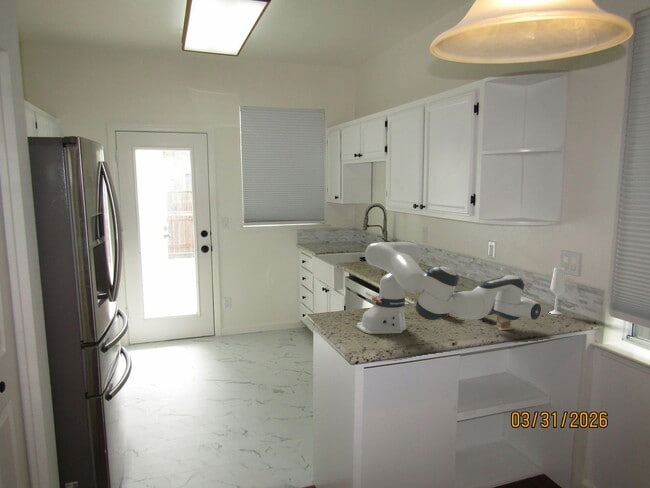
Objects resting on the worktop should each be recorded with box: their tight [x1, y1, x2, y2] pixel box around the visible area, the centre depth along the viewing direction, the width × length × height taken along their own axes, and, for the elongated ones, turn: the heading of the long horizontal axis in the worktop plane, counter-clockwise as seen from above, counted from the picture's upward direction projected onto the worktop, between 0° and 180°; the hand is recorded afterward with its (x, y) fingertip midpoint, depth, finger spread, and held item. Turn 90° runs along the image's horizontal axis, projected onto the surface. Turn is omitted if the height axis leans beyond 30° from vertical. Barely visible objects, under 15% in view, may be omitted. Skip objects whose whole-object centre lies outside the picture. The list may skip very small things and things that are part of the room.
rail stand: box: [490, 308, 514, 331], centre depth 213 cm, size 25×7×7 cm, turn 18°
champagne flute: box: [548, 266, 566, 315], centre depth 229 cm, size 7×7×24 cm
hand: (489, 295), depth 213 cm, fingers closed, pressing on slider
